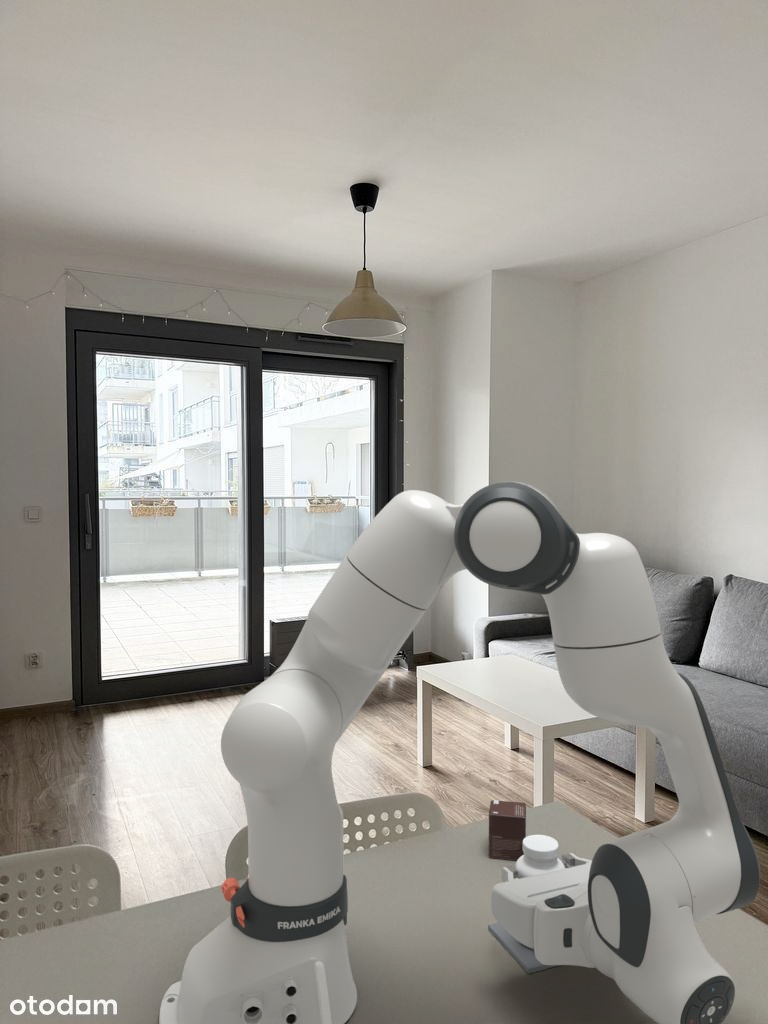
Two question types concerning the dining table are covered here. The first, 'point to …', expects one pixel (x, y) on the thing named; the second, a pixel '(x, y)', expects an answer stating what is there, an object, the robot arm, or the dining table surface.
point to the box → (506, 829)
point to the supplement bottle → (538, 857)
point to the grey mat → (518, 950)
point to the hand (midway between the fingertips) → (536, 865)
